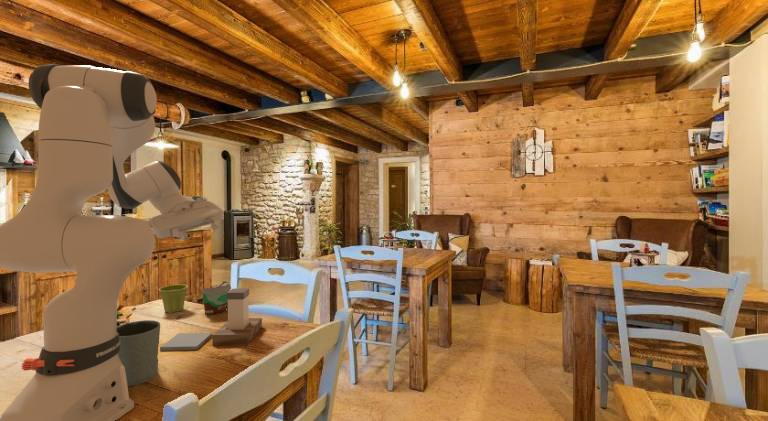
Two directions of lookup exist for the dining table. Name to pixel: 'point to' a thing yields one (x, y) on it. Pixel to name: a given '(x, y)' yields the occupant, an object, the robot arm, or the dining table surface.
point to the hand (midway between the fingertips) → (201, 232)
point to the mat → (186, 341)
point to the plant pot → (173, 297)
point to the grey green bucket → (139, 350)
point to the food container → (216, 298)
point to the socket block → (237, 334)
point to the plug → (238, 309)
